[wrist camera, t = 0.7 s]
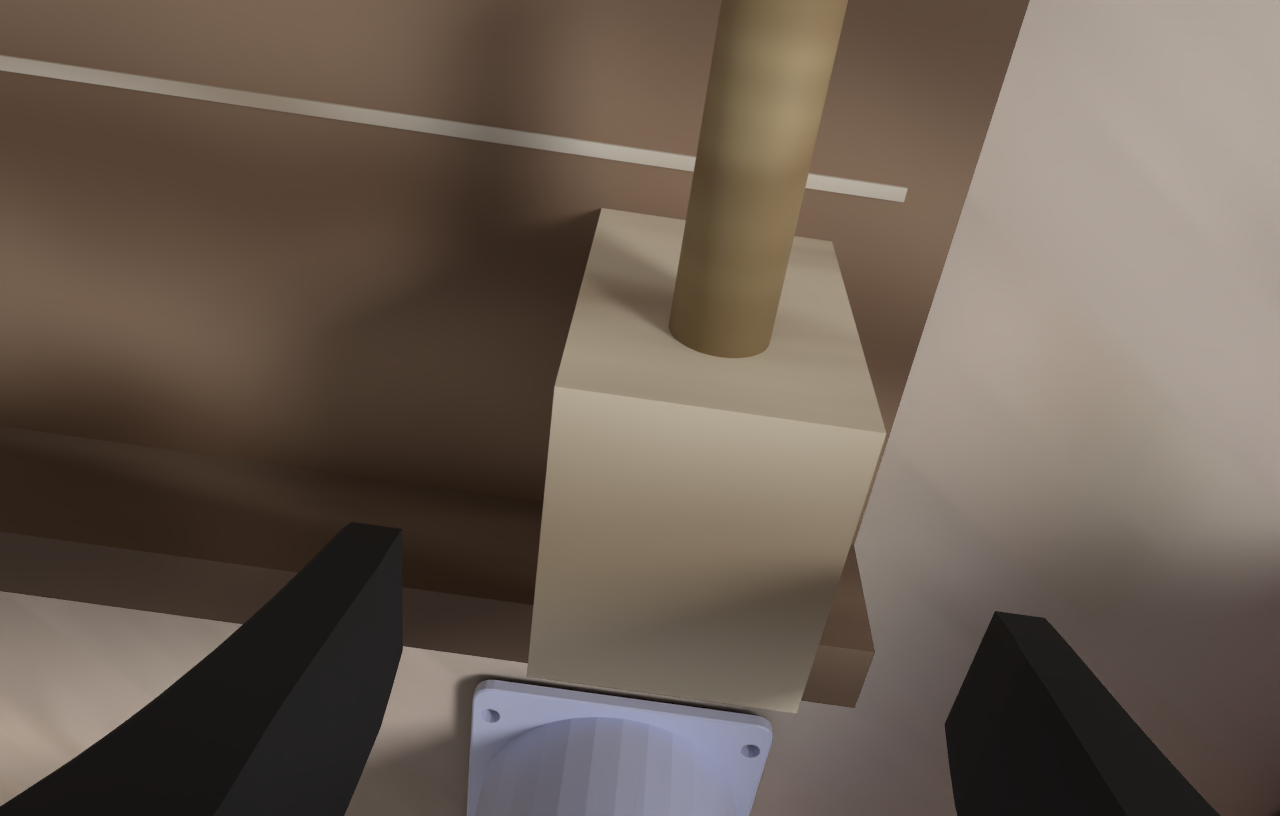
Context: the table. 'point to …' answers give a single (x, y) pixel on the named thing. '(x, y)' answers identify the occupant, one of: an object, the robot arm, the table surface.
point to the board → (392, 274)
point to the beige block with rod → (711, 407)
